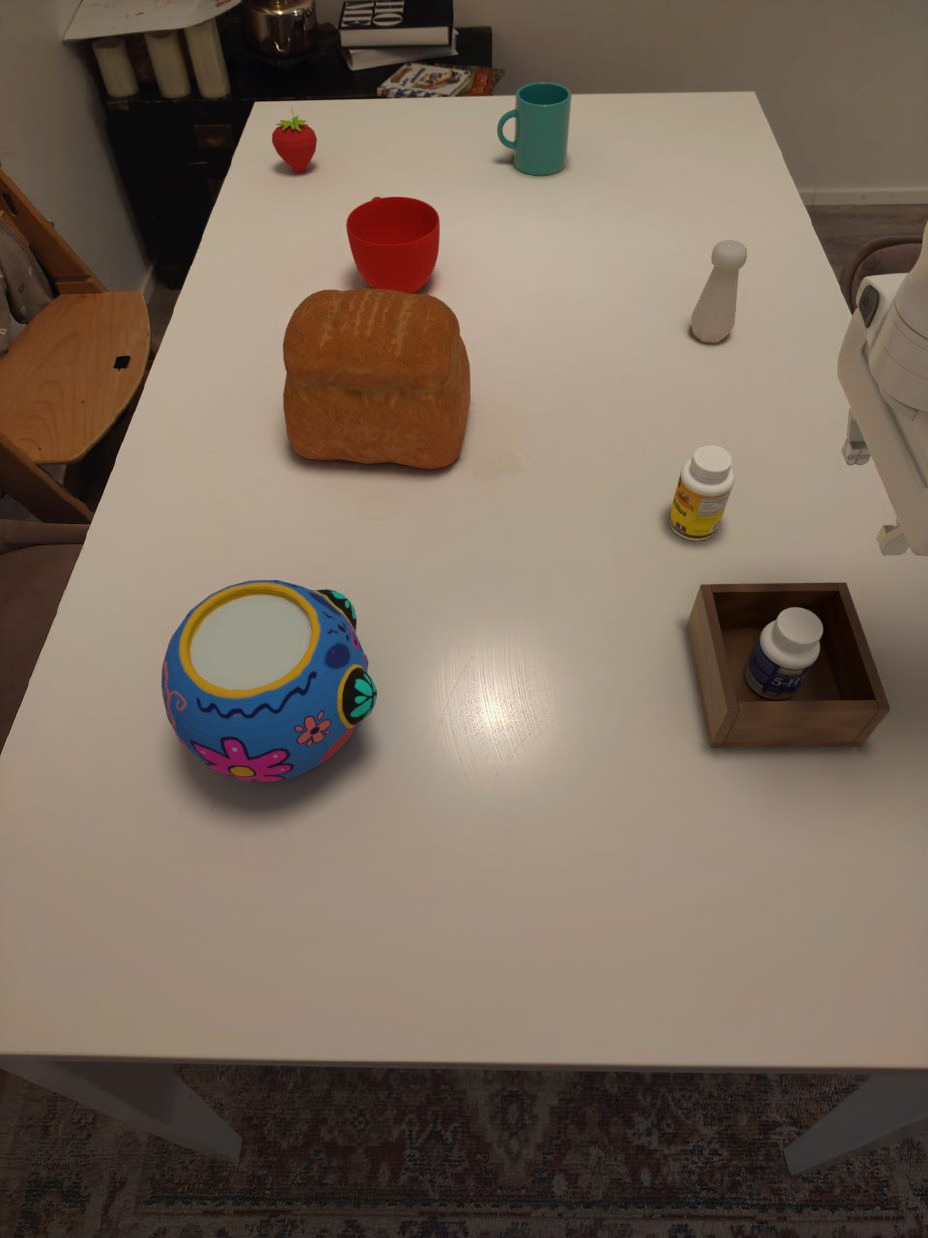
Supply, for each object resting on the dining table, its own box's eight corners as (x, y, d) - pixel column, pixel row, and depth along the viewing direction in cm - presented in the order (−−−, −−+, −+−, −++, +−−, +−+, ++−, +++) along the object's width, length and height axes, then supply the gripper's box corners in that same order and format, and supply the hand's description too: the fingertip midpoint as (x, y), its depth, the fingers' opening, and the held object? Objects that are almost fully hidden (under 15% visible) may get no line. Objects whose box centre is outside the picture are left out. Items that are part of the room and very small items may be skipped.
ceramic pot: (397, 780, 75) (381, 696, 63) (202, 834, 73) (146, 758, 61) (357, 630, 85) (336, 533, 73) (183, 673, 83) (132, 580, 70)
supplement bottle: (663, 507, 95) (680, 440, 86) (711, 505, 95) (733, 438, 87) (672, 544, 92) (691, 477, 83) (722, 542, 92) (746, 475, 83)
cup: (494, 154, 145) (495, 83, 136) (562, 151, 145) (568, 80, 136) (498, 179, 140) (499, 107, 131) (568, 176, 140) (574, 104, 131)
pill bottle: (764, 709, 78) (793, 657, 71) (732, 666, 81) (756, 612, 74) (810, 689, 79) (843, 636, 72) (777, 648, 82) (806, 593, 75)
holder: (822, 624, 85) (846, 582, 79) (860, 747, 77) (891, 709, 71) (685, 626, 85) (700, 583, 79) (709, 748, 77) (728, 711, 71)
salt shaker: (699, 317, 116) (721, 228, 105) (737, 331, 114) (763, 241, 103) (680, 338, 113) (700, 248, 103) (718, 353, 111) (743, 263, 101)
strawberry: (280, 164, 144) (268, 101, 136) (323, 163, 144) (314, 101, 136) (275, 181, 141) (263, 118, 133) (319, 180, 141) (310, 117, 133)
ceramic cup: (420, 242, 129) (416, 176, 121) (453, 301, 119) (451, 234, 111) (339, 257, 127) (330, 192, 118) (367, 319, 117) (358, 253, 109)
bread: (315, 378, 110) (291, 259, 96) (475, 389, 108) (474, 269, 94) (282, 470, 99) (250, 351, 86) (458, 483, 98) (455, 364, 84)
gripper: (1070, 464, 47) (959, 608, 58) (944, 261, 59) (872, 413, 70) (957, 467, 47) (868, 611, 58) (855, 264, 59) (797, 416, 70)
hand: (870, 501), depth 64 cm, fingers open, 8 cm apart
